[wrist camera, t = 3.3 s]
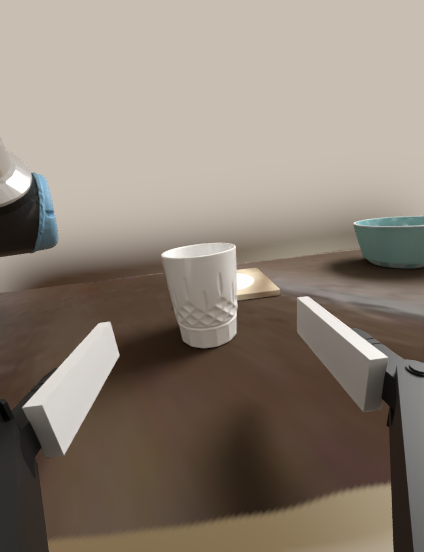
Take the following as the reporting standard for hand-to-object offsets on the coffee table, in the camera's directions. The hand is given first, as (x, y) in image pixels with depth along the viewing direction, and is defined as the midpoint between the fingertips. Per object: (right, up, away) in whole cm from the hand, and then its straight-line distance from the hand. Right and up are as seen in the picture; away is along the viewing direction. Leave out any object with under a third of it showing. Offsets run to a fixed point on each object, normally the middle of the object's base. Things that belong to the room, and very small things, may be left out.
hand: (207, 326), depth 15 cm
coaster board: (+3, +2, +25) cm, 25 cm away
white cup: (0, -3, +11) cm, 11 cm away
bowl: (+37, +6, +27) cm, 47 cm away
